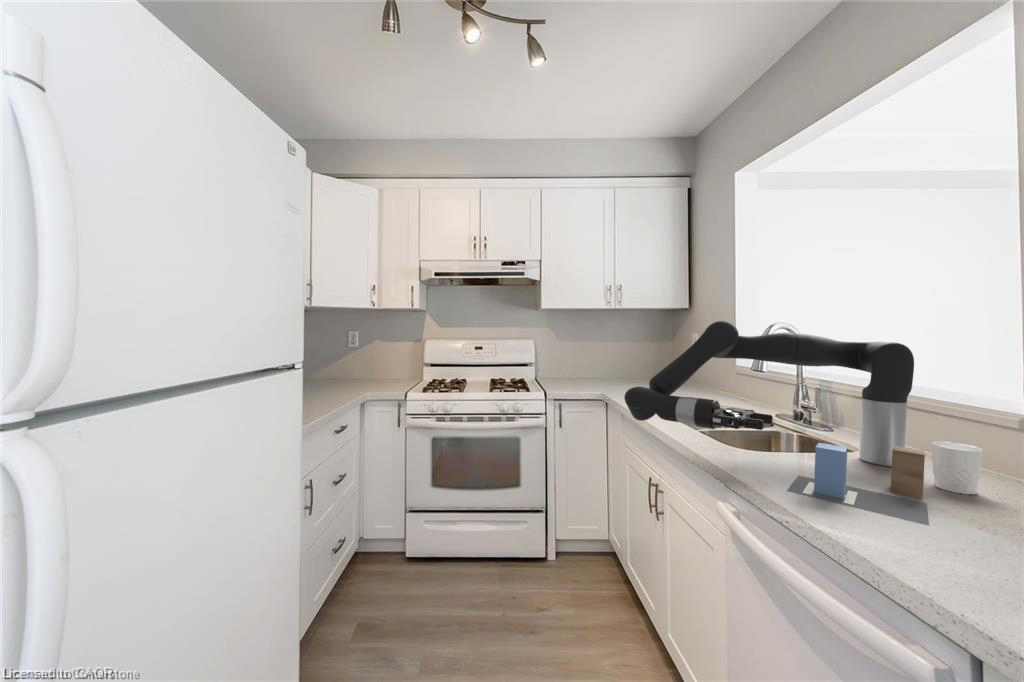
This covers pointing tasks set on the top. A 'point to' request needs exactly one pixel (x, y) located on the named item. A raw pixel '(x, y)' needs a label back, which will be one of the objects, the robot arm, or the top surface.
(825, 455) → the blue block
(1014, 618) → the top surface
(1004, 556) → the top surface
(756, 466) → the top surface
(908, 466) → the walnut block
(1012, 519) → the top surface
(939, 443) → the white cup
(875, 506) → the letter mat
